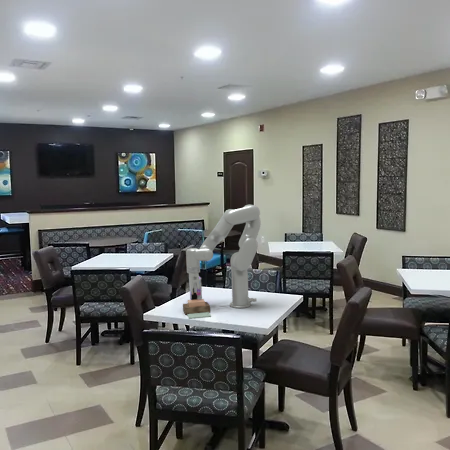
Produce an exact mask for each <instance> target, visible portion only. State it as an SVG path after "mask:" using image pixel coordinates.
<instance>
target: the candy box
mask: <svg viewBox="0 0 450 450" xmlns="http://www.w3.org/2000/svg"><path fill="white" fill-rule="evenodd" d="M199 283H200V290H198V289H197V299H203V296H202V295H203V294H202V291H203V289H202V288H203V287H202V277H201V276H200V275H199ZM189 300H191V289H190V288H189Z"/></svg>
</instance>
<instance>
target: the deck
mask: <svg viewBox="0 0 450 450" xmlns="http://www.w3.org/2000/svg"><path fill="white" fill-rule="evenodd" d="M182 311H183V313H184V315H185V316H188V315H187V314H194V313H205V312H209V314H211V305H210V304H209V302H208V301H205V306H195V307H189V306H188V302H187V303H182Z"/></svg>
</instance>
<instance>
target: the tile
mask: <svg viewBox="0 0 450 450" xmlns="http://www.w3.org/2000/svg"><path fill="white" fill-rule="evenodd" d="M205 302H206V301H205V299H204V298H202V299H196V300H190V299H187V303H188V306H189V307H195V306H205Z"/></svg>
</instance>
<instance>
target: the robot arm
mask: <svg viewBox="0 0 450 450" xmlns="http://www.w3.org/2000/svg"><path fill="white" fill-rule="evenodd" d="M260 215H261V210H260V208H259V207H258V206H256V205H254V204H246V205H244V206H243V207H241V208H237V209H232V208H229V209H227V210H225V212H224V213H223V214H222V216H221V217H220V218H219V220H218V222H217V224H216V225H215V226H214V227H213V229H212V230H211V231H210V233H209V234H208V236H207V237H206V238H205V240H204V241H203V242H202V244H201V245H200V247H199V248H197V247H191V248H187V249H186V251H185V255H186V256H185V258H186V273H187V274H188V284H189V290H190V289H191V300H196V299H197V289H198V290H200V283H199V276H200V275H199V273H201V266H200V265H201V264H200V263H201V262H208V261H211V260H212V259H213V257H214V252H213V251H214V250H215V248H216V246H217V245H219V243H220V242H221V241H223V240H225V239H226V238H227V237H228V235H229V233H230V232H231V230H232V228H233V227H234V226H235V225H240V224H241V225H242V224H244V223H245V225H244V229H243V232H242V234H241V236H240V238H239V241H238V247H239V250H238V251H237V252H234V253H233V254H232V255H231V257H230V268H231V269H230V272H231V297H232V298H231V299H232V300H231V302H230V303H229V306H230V307H231V308H235V309H245V308H249V307H250V308H251V306H252V302H257V298H256V297H249V274H248V273H249V272H248V271H249V269H250V267H251V265H252V263H253V260H254V258H255V255H256V253H257V251H258V247H259V245H258V241H257V238H258V235H259V232H260V229H261V225H262V224H261V218H260Z"/></svg>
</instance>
